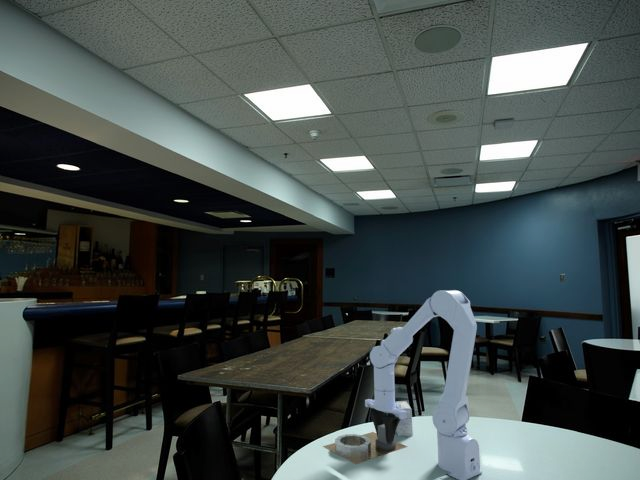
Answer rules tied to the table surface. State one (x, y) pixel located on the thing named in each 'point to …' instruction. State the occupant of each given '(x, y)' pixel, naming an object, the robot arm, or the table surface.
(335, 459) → the table surface
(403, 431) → the medicine box
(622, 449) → the table surface
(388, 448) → the cap
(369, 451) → the board with octagonal ring
